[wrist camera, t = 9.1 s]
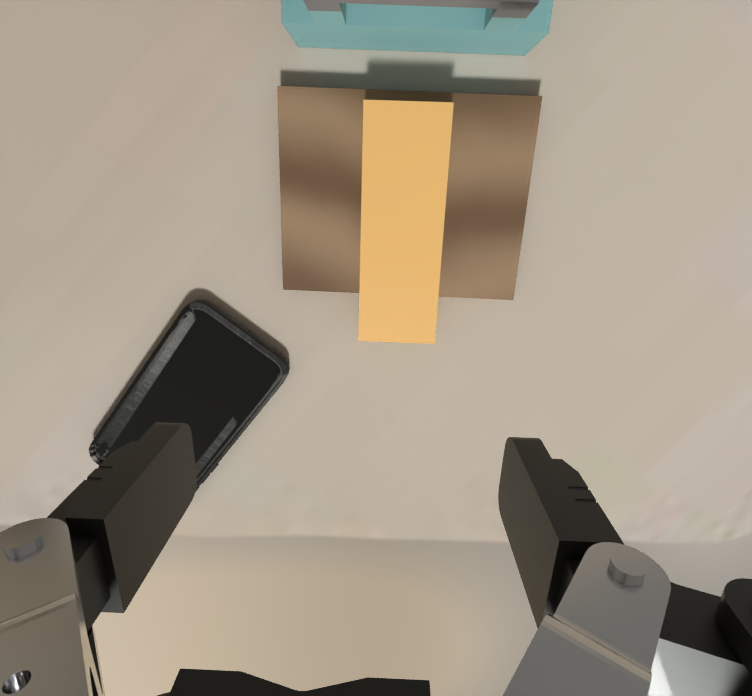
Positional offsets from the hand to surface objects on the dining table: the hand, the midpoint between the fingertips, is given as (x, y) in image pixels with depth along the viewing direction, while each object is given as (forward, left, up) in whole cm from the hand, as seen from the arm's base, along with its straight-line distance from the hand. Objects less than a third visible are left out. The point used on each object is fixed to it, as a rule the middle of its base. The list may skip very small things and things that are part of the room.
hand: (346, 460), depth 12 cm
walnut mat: (-6, +2, -19) cm, 19 cm away
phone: (+9, -12, -19) cm, 24 cm away
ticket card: (-4, +2, -18) cm, 18 cm away
